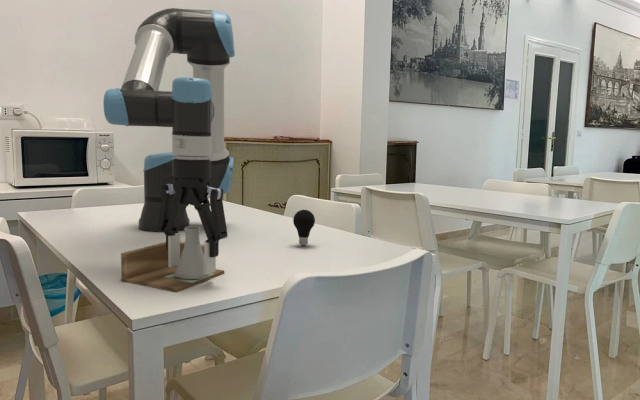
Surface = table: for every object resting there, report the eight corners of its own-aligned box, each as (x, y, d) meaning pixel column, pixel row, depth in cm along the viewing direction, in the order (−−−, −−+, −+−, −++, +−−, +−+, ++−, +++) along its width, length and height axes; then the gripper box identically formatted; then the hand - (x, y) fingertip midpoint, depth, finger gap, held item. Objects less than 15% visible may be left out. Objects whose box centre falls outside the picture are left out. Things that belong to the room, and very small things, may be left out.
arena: (121, 280, 100) (121, 253, 99) (173, 264, 114) (173, 239, 113) (176, 292, 94) (176, 263, 94) (224, 273, 108) (224, 247, 107)
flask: (167, 278, 100) (167, 229, 99) (183, 269, 107) (184, 223, 106) (201, 282, 98) (201, 231, 97) (215, 272, 106) (216, 225, 104)
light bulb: (298, 249, 133) (299, 211, 131) (289, 244, 138) (290, 208, 136) (317, 247, 135) (319, 211, 134) (308, 243, 140) (309, 207, 139)
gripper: (137, 155, 101) (138, 265, 104) (224, 161, 92) (223, 281, 95) (163, 154, 107) (164, 258, 110) (247, 160, 98) (245, 272, 101)
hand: (191, 269), depth 102 cm, fingers open, 8 cm apart
